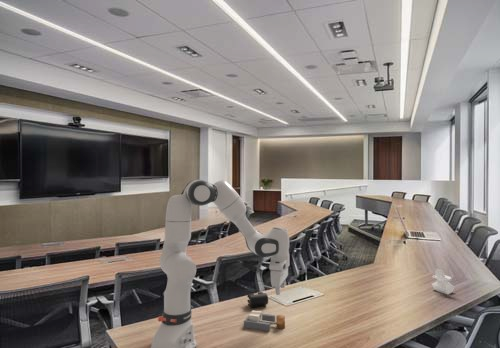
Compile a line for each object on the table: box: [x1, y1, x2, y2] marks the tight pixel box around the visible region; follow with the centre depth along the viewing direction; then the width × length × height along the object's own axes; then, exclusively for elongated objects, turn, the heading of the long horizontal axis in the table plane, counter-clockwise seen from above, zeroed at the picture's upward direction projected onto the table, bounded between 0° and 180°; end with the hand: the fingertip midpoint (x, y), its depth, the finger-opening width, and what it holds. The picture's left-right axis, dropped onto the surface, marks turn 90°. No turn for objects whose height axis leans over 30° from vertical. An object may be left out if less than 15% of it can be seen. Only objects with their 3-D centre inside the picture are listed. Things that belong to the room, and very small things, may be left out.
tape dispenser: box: [431, 268, 456, 295], centre depth 204 cm, size 8×14×14 cm, turn 21°
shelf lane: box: [243, 312, 276, 332], centre depth 160 cm, size 11×12×3 cm
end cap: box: [246, 291, 269, 309], centre depth 183 cm, size 10×7×7 cm
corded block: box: [248, 310, 286, 330], centre depth 159 cm, size 6×17×5 cm, turn 71°
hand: (280, 290), depth 157 cm, fingers open, 8 cm apart
